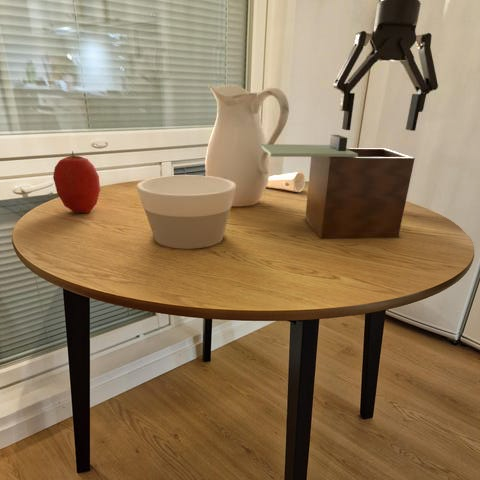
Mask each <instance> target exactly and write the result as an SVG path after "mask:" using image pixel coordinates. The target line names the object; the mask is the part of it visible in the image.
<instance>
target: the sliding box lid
mask: <svg viewBox="0 0 480 480" xmlns="http://www.w3.org/2000/svg"><path fill="white" fill-rule="evenodd" d="M347 145H348V137H346V136H343V135H340V134H330V139H329V144H279V143H278V144H275V143H274V144H261V148H262V149H263V150H264V151H265V152H267V153H268V154H269V155H270V158H272V157H273V158H274V157H275V158H276V157H277V158H278V157H282V158H285V157H287V158H289V157H290V158H294V157H295V158H296V157H297V158H311V157H358V154H357V153H355V152H353V151H350V150H348V149H346V148H347Z"/></svg>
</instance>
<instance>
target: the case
mask: <svg viewBox="0 0 480 480" xmlns="http://www.w3.org/2000/svg"><path fill="white" fill-rule="evenodd" d="M346 149H348V150H350V151H353V152H355V153H357V154H358V157H310V164H309V165H310V166H309V176H308V186H307V196H306V207H305V217H304V220H305V221H306V223H307V224H308V225H309V226H310V227H311V229H312V230H313V231H314V232H315V233H316V234H317V235H318V236H319V238H320V239H369V238H371V239H372V238H373V239H374V238H378V239H379V238H399V236H400V231H401V226H402V222H403V217H404V212H405V207H406V202H407V198H408V192H409V188H410V183H411V178H412V173H413V169H414V164H415V158H416V157H413V156H410V155H406V154H404V153H401V152H398V151H394V150H392V149H388V148H385V147H384V148H381V147H380V148H378V147H377V148H375V147H374V148H373V147H371V148H370V147H368V148H367V147H352V148H351V147H346Z"/></svg>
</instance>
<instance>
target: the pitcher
mask: <svg viewBox="0 0 480 480" xmlns="http://www.w3.org/2000/svg"><path fill="white" fill-rule="evenodd" d="M206 85H207V87H208V88H209V89H210V91H211V93H212V94H213V96H214V99H215V101H216V105H217V111H216V119H215V121H214V125H213V128H212V131H211V134H210V137H209V140H208V144H207V148H206V154H205V162H204V171H205V176H212V177H219V178H223V179H227V180H230V181H232V182H234V183H235V184H236V189H235V193H234V197H233V201H232V205H231V207H250V206H253V205H256V204H258V203H259V201H260V200H261V198H262V197H263V194H264V193H265V191H266V188H267V187H266V186H267V184H268V180H269V176H270V173H271V156H270V155H269V154H268V153H267V152H265V151H264V150H263V149H262V148H261V144H275V143H276V141H277V140H278V138H279V137H280V136H281V134H282V132H283V130H284V128H285V127H286V124H287V121H288V119H289V113H290V105H289V100H288V97H287V96H286V94H285V92H283V90H281V89H280V88H278V87H268V88H264V89H263V90H261V91H260V92H250V91H249V90H246V89H245V88H243V87H242V86H240V85H237V84H226V85H225V84H224V85H219V86H212V85H211V84H210V83H207V84H206ZM270 96H272V97H273V98H275V99H276V100H277V103H278V104H279V117H278V121H277V124H276V127H275V128H274V130H273V132H272V134H271V135H270V138H269V139H268V141H267V138H266V135H265V132H264V128H263V124H262V121H261V116H260V115H261V114H260V110H261V107H262V105H263V103H264V102H265V100H266V99H268V98H269V97H270Z"/></svg>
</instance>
